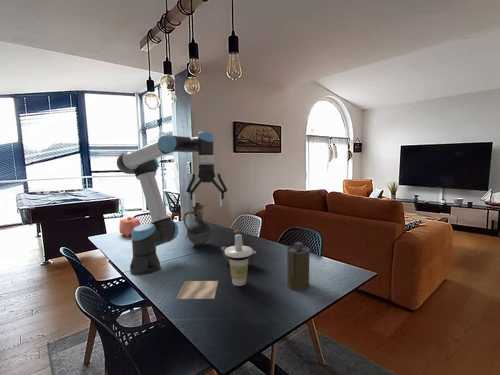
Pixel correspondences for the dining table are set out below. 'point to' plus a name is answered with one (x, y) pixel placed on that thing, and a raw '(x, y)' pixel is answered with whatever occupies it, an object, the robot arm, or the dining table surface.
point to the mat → (198, 290)
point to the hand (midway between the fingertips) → (207, 206)
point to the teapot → (128, 226)
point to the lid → (238, 249)
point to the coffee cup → (239, 270)
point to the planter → (242, 245)
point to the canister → (298, 267)
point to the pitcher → (198, 227)
